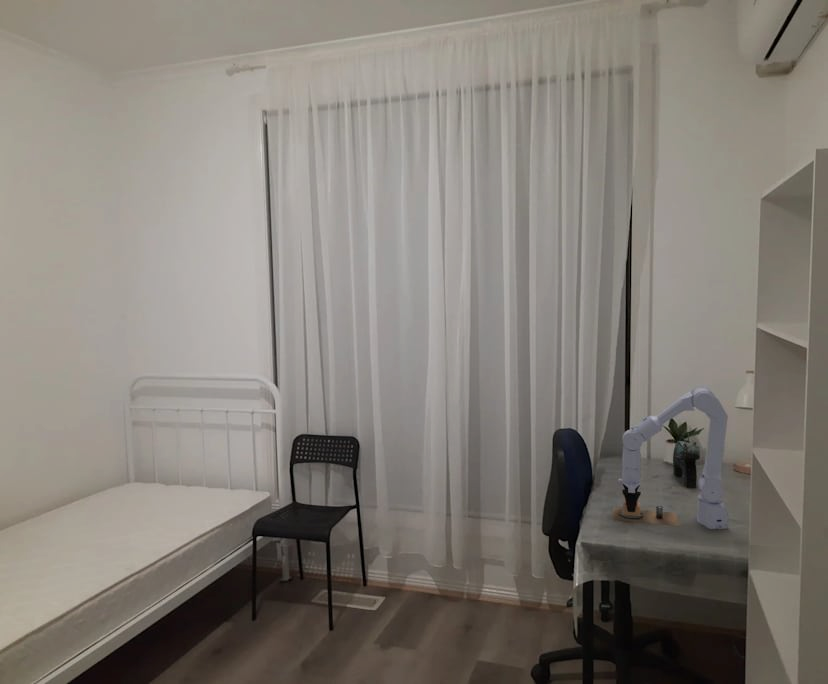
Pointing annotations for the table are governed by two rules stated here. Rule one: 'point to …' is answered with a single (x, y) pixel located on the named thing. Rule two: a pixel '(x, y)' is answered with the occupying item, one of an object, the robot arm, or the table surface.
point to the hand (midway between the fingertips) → (631, 507)
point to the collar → (636, 513)
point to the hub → (630, 515)
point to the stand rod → (659, 512)
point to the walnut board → (650, 517)
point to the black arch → (686, 461)
